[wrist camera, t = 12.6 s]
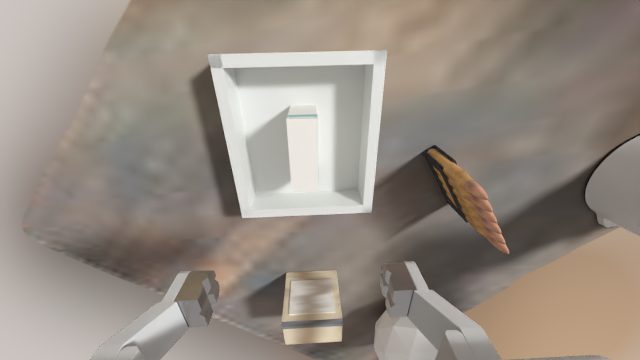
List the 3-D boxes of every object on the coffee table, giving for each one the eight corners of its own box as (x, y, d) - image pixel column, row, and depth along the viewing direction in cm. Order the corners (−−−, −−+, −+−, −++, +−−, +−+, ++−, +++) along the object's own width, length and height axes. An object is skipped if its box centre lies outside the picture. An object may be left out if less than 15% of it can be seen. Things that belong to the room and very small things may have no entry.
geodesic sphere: (482, 328, 44) (485, 402, 32) (437, 367, 50) (425, 441, 38) (408, 273, 50) (388, 318, 38) (375, 314, 56) (349, 364, 44)
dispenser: (336, 269, 44) (343, 323, 35) (335, 292, 47) (342, 346, 38) (286, 271, 44) (281, 326, 35) (289, 294, 46) (284, 350, 38)
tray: (375, 50, 28) (387, 50, 23) (364, 194, 37) (371, 212, 32) (222, 54, 27) (207, 54, 23) (249, 199, 36) (242, 217, 32)
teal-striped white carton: (315, 104, 29) (318, 118, 23) (317, 164, 33) (319, 190, 27) (290, 104, 29) (285, 118, 23) (294, 165, 33) (291, 191, 27)
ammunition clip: (422, 151, 34) (475, 197, 23) (434, 144, 33) (494, 187, 23) (448, 203, 38) (502, 262, 28) (459, 197, 38) (519, 255, 27)
